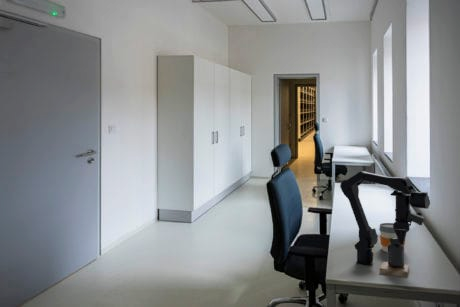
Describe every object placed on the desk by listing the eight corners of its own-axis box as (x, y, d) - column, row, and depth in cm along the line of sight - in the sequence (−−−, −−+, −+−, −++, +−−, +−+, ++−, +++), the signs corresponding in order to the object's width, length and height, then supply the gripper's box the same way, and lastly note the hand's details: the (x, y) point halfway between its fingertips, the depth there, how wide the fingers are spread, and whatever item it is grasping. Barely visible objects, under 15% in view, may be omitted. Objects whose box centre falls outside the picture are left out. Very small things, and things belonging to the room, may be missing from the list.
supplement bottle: (397, 264, 183) (397, 237, 184) (408, 267, 177) (407, 239, 177) (384, 264, 181) (384, 237, 182) (394, 267, 175) (394, 239, 176)
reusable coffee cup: (410, 258, 200) (410, 227, 199) (384, 258, 200) (384, 227, 199) (400, 251, 212) (400, 222, 212) (375, 251, 212) (375, 222, 212)
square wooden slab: (379, 275, 177) (379, 268, 177) (382, 268, 187) (382, 261, 187) (407, 278, 172) (407, 271, 172) (409, 271, 182) (409, 264, 182)
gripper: (422, 210, 165) (422, 249, 166) (424, 204, 182) (423, 239, 182) (392, 209, 170) (392, 246, 171) (397, 203, 187) (397, 237, 187)
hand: (402, 242), depth 178 cm, fingers open, 9 cm apart
